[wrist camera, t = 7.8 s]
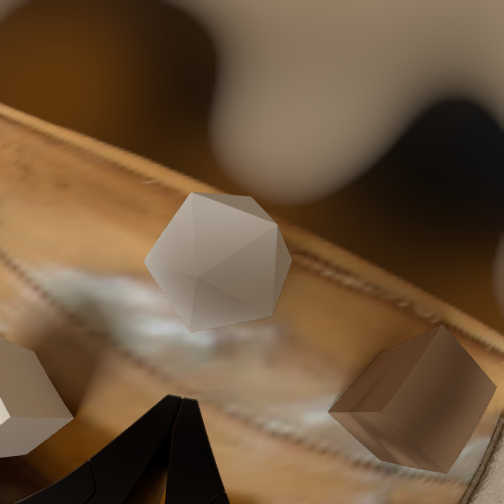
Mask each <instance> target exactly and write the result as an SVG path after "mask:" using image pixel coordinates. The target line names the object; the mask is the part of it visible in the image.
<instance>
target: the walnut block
mask: <svg viewBox="0 0 504 504" xmlns="http://www.w3.org/2000/svg"><path fill="white" fill-rule="evenodd" d="M496 388H497V387H496V386H495V385H494V383H493V382H492V381H491V380H490V379H489V377H488V376H487V375H486V374H485V372H484V371H483V370H482V369H481V368H480V366H479V365H478V364H477V363H476V362H475V361H474V359H473V358H472V357H471V356H470V355H469V354H468V352H467V351H466V350H465V349H464V348H463V347H462V346H461V345H460V343H459V342H458V341H457V340H456V339H455V338H454V337H453V336H452V334H451V333H450V332H449V331H448V330H447V329H446V328H445V327H444V326H443V325H442V324H441V325H439V326H437V327H435V328H433V329H431V330H429V331H427V332H425V333H422V334H420V335H418V336H416V337H414V338H412V339H409V340H407V341H405V342H403V343H401V344H398V345H396V346H394V347H391V348H389V349H387V350H384V351H382V352H379V353H378V355H377V356H376V357H375V359H374V360H373V361H372V362H371V363H370V365H369V366H368V367H367V368H366V370H365V371H364V372H363V373H362V374H361V375H360V377H359V378H358V379H357V380H356V381H355V383H354V384H353V385H352V386H351V387H350V388H349V389H348V391H347V392H346V393H345V394H344V395H343V396H342V397H341V398H340V399H339V401H338V402H337V403H336V404H335V405H334V406H333V407H332V408H331V409H330V410H329V411H328V413H329V414H330V415H331V416H332V417H333V418H334V419H335V420H336V421H338V422H339V423H340V424H341V425H342V426H343V427H344V428H345V429H346V430H347V431H348V432H349V433H351V434H352V435H353V436H354V437H355V438H356V439H357V440H358V441H359V442H360V443H362V444H363V445H364V446H365V447H366V448H367V449H368V450H369V451H370V452H372V453H373V454H374V455H375V456H376V457H377V458H378V459H380V460H381V461H385V462H389V463H394V464H398V465H403V466H407V467H412V468H417V469H423V470H428V471H434V472H440V473H446V474H447V473H448V471H449V470H450V468H451V467H452V465H453V464H454V462H455V461H456V459H457V458H458V456H459V455H460V453H461V452H462V450H463V449H464V447H465V445H466V444H467V442H468V440H469V439H470V437H471V435H472V434H473V432H474V430H475V428H476V427H477V425H478V423H479V421H480V419H481V418H482V416H483V414H484V412H485V410H486V408H487V406H488V404H489V402H490V400H491V398H492V396H493V394H494V392H495V390H496Z"/></svg>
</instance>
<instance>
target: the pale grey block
mask: <svg viewBox="0 0 504 504" xmlns="http://www.w3.org/2000/svg"><path fill="white" fill-rule="evenodd" d="M72 419H74V417H73V416H72V415H71V413H70V412H69V410H68V409H67V407H66V405H65V404H64V402H63V401H62V399H61V398H60V396H59V394H58V393H57V391H56V390H55V388H54V386H53V385H52V383H51V381H50V379H49V378H48V376H47V374H46V372H45V371H44V369H43V367H42V365H41V363H40V362H39V360H38V358H37V356H36V354H35V352H34V351H32V350H29V349H27V348H24V347H22V346H20V345H17V344H15V343H13V342H10V341H8V340H6V339H4V338H2V337H0V457H9V456H17V455H25V454H28V453H29V452H30V451H32V450H33V449H34V448H36V447H37V446H38V445H40V444H41V443H42V442H43V441H45V440H46V439H47V438H49V437H50V436H51V435H53V434H54V433H55V432H57V431H58V430H59V429H61V428H62V427H63V426H64V425H66V424H67V423H68V422H70V421H71V420H72Z"/></svg>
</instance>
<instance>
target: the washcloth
mask: <svg viewBox="0 0 504 504" xmlns="http://www.w3.org/2000/svg"><path fill="white" fill-rule="evenodd" d="M460 504H504V418H500V421H499V423H498V424H497V428H496V431H495V433H494V435H493V438H492V441H491V443H490V445H489V447H488V448H487V451H486V453H485V456H484V458H483V460H482V463H481V466H480V467H479V468H478V471H477V472H476V474H475V476H474V478H473V479H472V483H471V484H470V486H469V488H468V489H467V490H466V492H465V495H464V496H463V498H462V501H461V502H460Z"/></svg>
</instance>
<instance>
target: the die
mask: <svg viewBox="0 0 504 504" xmlns="http://www.w3.org/2000/svg"><path fill="white" fill-rule="evenodd" d="M143 262H144V263H145V265H146V267H147V268H148V270H149V271H150V273H151V275H152V276H153V278H154V279H155V281H156V283H157V284H158V286H159V287H160V289H161V290H162V292H163V294H164V295H165V297H166V298H167V300H168V301H169V303H170V304H171V306H172V307H173V309H174V310H175V312H176V313H177V315H178V316H179V318H180V319H181V321H182V322H183V324H184V325H185V327H186V328H187V329H188V331H189V332H196V331H202V330H207V329H212V328H218V327H223V326H228V325H233V324H238V323H243V322H248V321H253V320H258V319H262V318H267V317H272V315H273V313H274V310H275V307H276V304H277V302H278V299H279V296H280V293H281V291H282V288H283V285H284V282H285V279H286V277H287V274H288V271H289V268H290V265H291V262H292V259H291V256H290V254H289V251H288V249H287V246H286V244H285V241H284V239H283V237H282V234H281V232H280V229H279V227H278V224H277V223H276V222H275V221H274V220H273V219H272V218H271V217H270V216H269V215H268V214H267V213H266V212H265V211H264V210H263V209H262V208H261V207H260V206H259V205H258V204H257V202H256V201H254V199H253V198H252V197H249V196H237V195H224V194H211V193H196V192H191V194H190V195H189V196H188V198H187V199H186V201H185V202H184V203H183V205H182V206H181V207H180V209H179V210H178V212H177V213H176V214H175V216H174V217H173V219H172V220H171V221H170V223H169V224H168V226H167V227H166V229H165V230H164V231H163V233H162V234H161V236H160V237H159V239H158V240H157V242H156V243H155V245H154V246H153V248H152V249H151V250H150V252H149V253H148V255H147V256H146V258H145V259H144V261H143Z"/></svg>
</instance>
